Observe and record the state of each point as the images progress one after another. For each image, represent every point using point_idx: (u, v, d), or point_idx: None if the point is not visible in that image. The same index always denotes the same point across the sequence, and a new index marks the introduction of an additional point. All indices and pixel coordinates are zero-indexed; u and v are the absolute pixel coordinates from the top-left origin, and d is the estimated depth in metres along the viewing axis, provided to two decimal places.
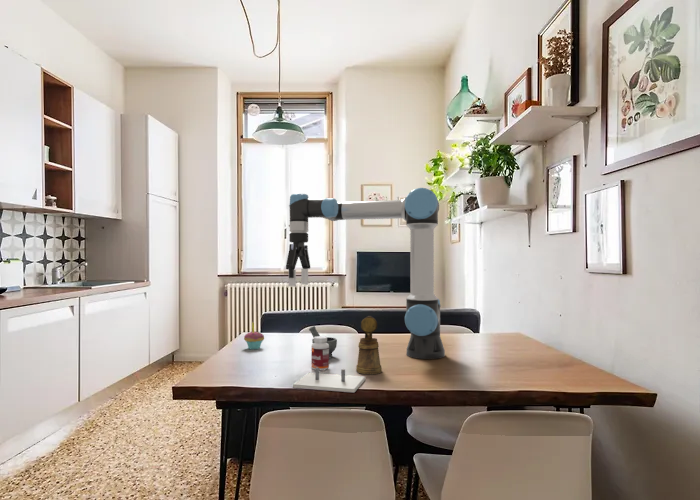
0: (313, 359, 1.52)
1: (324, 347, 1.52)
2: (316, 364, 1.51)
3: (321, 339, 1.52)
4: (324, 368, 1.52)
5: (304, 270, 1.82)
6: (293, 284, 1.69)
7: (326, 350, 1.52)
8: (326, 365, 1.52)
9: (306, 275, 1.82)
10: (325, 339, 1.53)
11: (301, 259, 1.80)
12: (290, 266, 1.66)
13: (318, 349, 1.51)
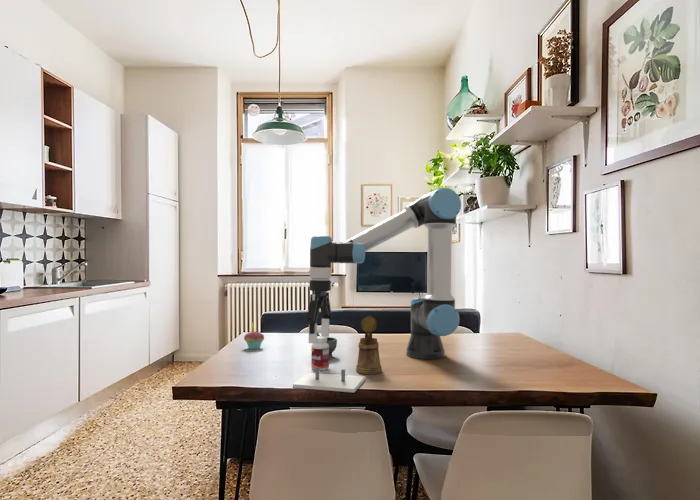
0: (313, 359, 1.52)
1: (324, 347, 1.52)
2: (316, 364, 1.51)
3: (321, 339, 1.52)
4: (324, 368, 1.52)
5: (325, 320, 1.61)
6: (314, 341, 1.47)
7: (326, 350, 1.52)
8: (326, 365, 1.52)
9: (327, 326, 1.60)
10: (325, 339, 1.53)
11: (322, 308, 1.59)
12: (311, 321, 1.45)
13: (318, 349, 1.51)
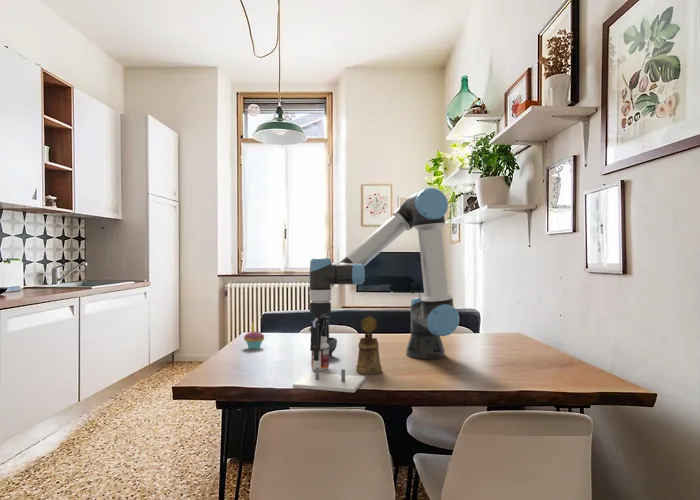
0: None
1: (324, 346, 1.52)
2: None
3: (321, 339, 1.52)
4: (324, 368, 1.52)
5: None
6: (318, 367, 1.50)
7: (326, 350, 1.52)
8: (326, 365, 1.52)
9: None
10: (325, 339, 1.53)
11: None
12: (315, 349, 1.48)
13: None
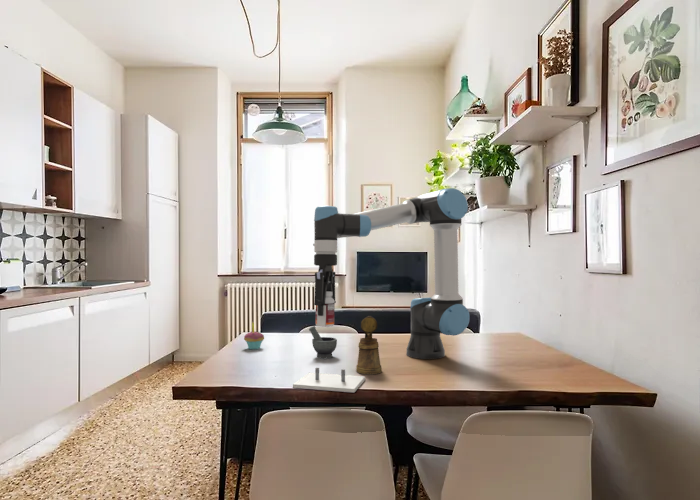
0: None
1: (329, 301, 1.40)
2: None
3: (326, 293, 1.41)
4: (329, 324, 1.40)
5: None
6: (323, 323, 1.39)
7: (331, 305, 1.41)
8: (331, 321, 1.41)
9: None
10: (330, 293, 1.42)
11: None
12: (320, 303, 1.36)
13: None
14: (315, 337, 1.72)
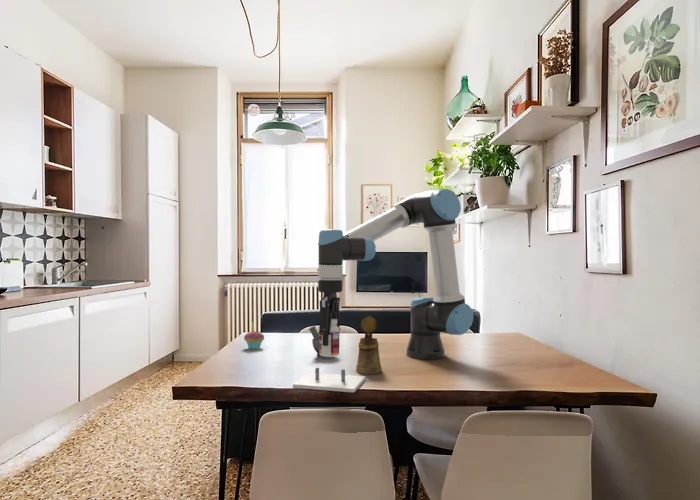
0: (321, 344, 1.34)
1: (335, 330, 1.33)
2: None
3: (331, 321, 1.34)
4: (334, 354, 1.33)
5: None
6: (328, 354, 1.32)
7: (336, 334, 1.34)
8: (336, 351, 1.34)
9: None
10: (335, 322, 1.35)
11: None
12: (325, 332, 1.29)
13: None
14: (315, 337, 1.72)
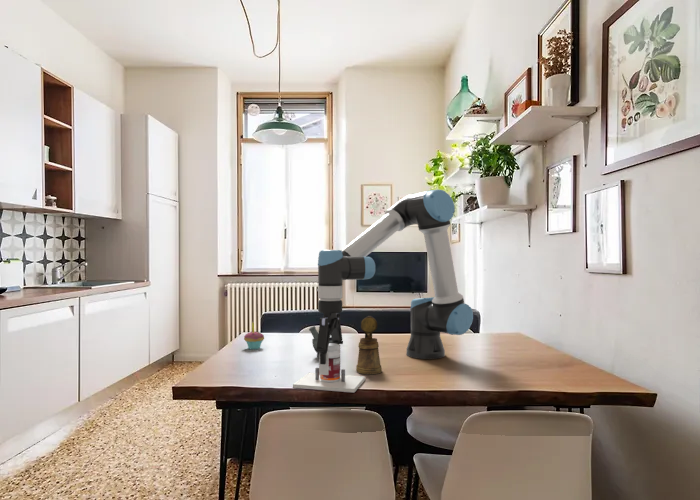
0: None
1: (335, 355, 1.33)
2: (326, 376, 1.33)
3: (331, 347, 1.34)
4: (335, 380, 1.33)
5: None
6: (325, 372, 1.29)
7: (337, 359, 1.34)
8: (337, 376, 1.34)
9: None
10: (336, 347, 1.35)
11: (332, 332, 1.40)
12: (322, 350, 1.26)
13: None
14: (315, 337, 1.72)
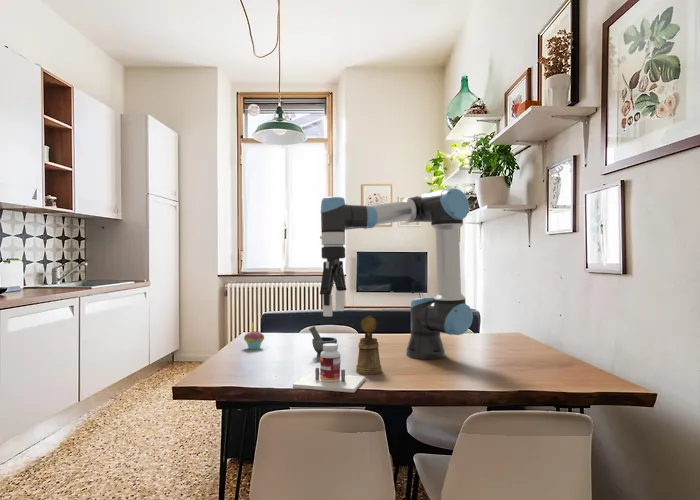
0: (322, 370, 1.34)
1: (335, 355, 1.33)
2: (326, 376, 1.33)
3: (331, 347, 1.34)
4: (335, 380, 1.33)
5: (339, 293, 1.45)
6: (329, 313, 1.31)
7: (337, 359, 1.34)
8: (337, 376, 1.34)
9: (342, 299, 1.45)
10: (336, 347, 1.35)
11: (335, 279, 1.43)
12: (326, 291, 1.29)
13: (328, 358, 1.33)
14: (315, 337, 1.72)
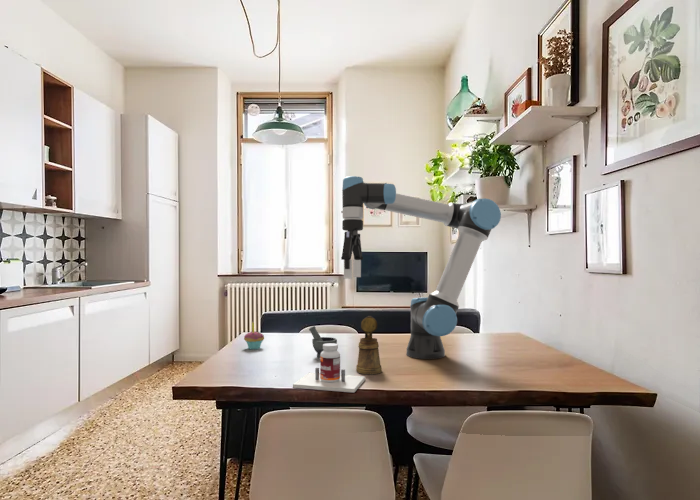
0: (322, 370, 1.34)
1: (335, 355, 1.33)
2: (326, 376, 1.33)
3: (331, 347, 1.34)
4: (335, 380, 1.33)
5: (356, 261, 1.66)
6: (349, 276, 1.52)
7: (337, 359, 1.34)
8: (337, 376, 1.34)
9: (359, 267, 1.65)
10: (336, 347, 1.35)
11: (354, 249, 1.64)
12: (347, 256, 1.50)
13: (328, 358, 1.33)
14: (315, 337, 1.72)
